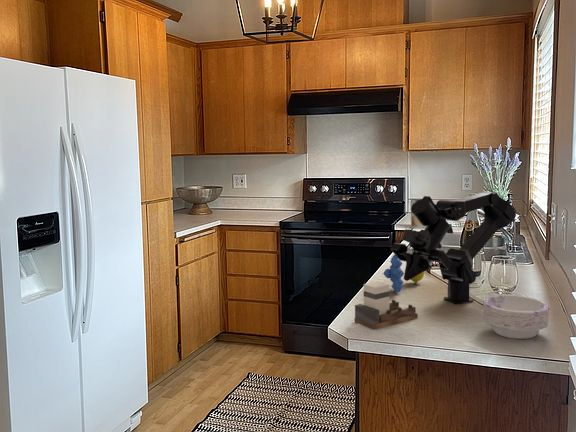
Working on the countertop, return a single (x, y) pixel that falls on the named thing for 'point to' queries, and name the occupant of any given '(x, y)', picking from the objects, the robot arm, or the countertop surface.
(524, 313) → the paper bowls
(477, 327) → the countertop surface
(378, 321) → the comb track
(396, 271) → the grapes
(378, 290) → the white banded pillar
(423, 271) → the robot arm
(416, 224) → the coffee box
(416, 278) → the lemon
